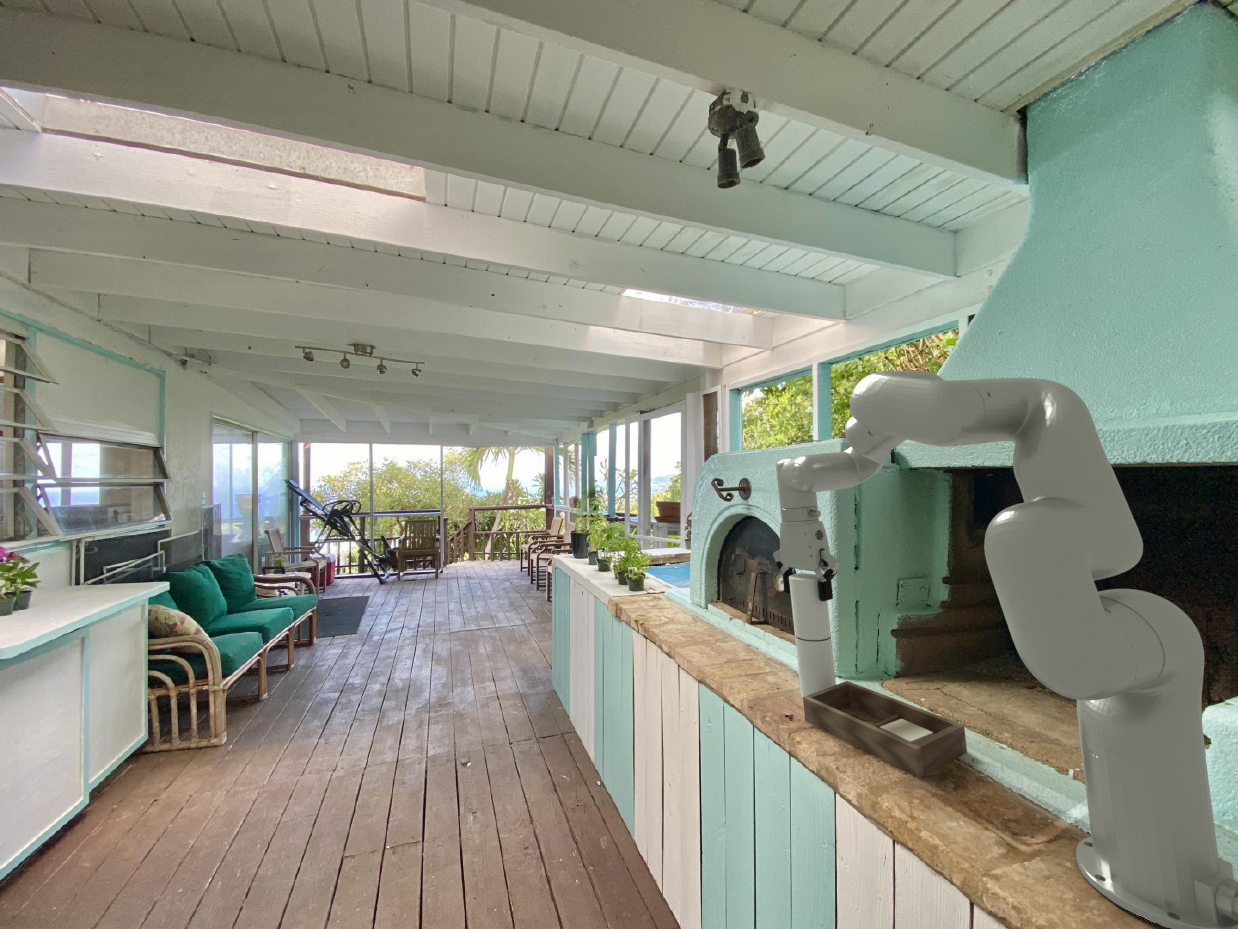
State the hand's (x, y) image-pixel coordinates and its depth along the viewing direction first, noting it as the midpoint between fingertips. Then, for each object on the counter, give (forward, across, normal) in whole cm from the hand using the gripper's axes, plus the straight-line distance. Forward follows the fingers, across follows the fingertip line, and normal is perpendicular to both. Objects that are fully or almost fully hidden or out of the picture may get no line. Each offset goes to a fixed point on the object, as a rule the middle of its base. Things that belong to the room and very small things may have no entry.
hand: (807, 596), depth 105 cm
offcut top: (+18, -23, +5) cm, 30 cm away
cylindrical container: (+21, 0, 0) cm, 21 cm away
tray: (+21, -18, +5) cm, 28 cm away
